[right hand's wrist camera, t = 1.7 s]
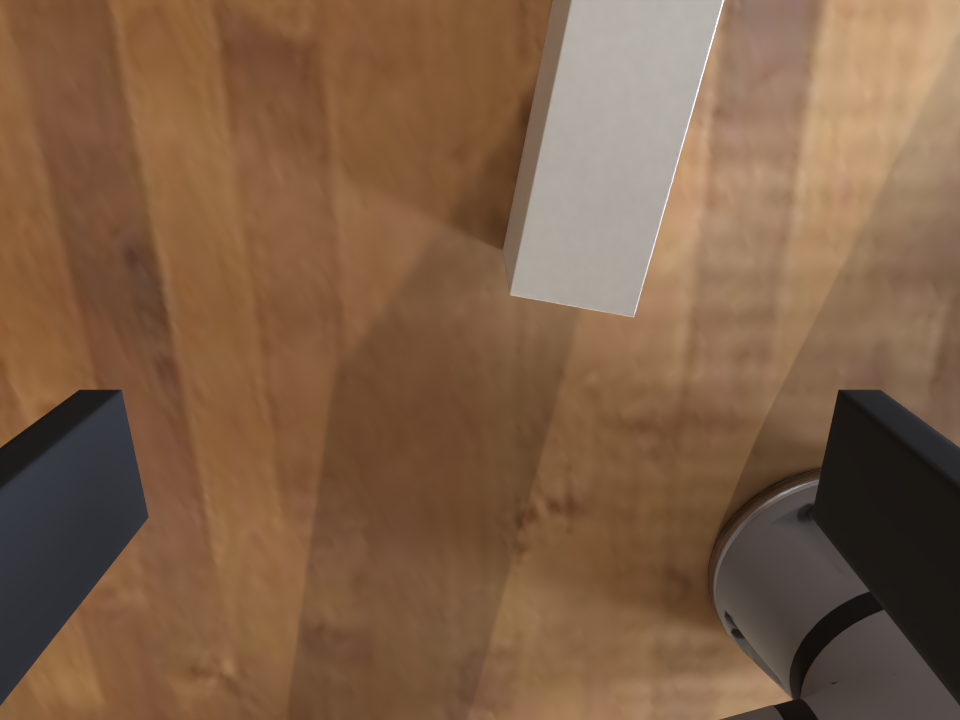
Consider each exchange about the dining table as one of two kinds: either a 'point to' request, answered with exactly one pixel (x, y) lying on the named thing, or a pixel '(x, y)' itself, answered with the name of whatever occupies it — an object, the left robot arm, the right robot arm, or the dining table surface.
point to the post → (604, 147)
